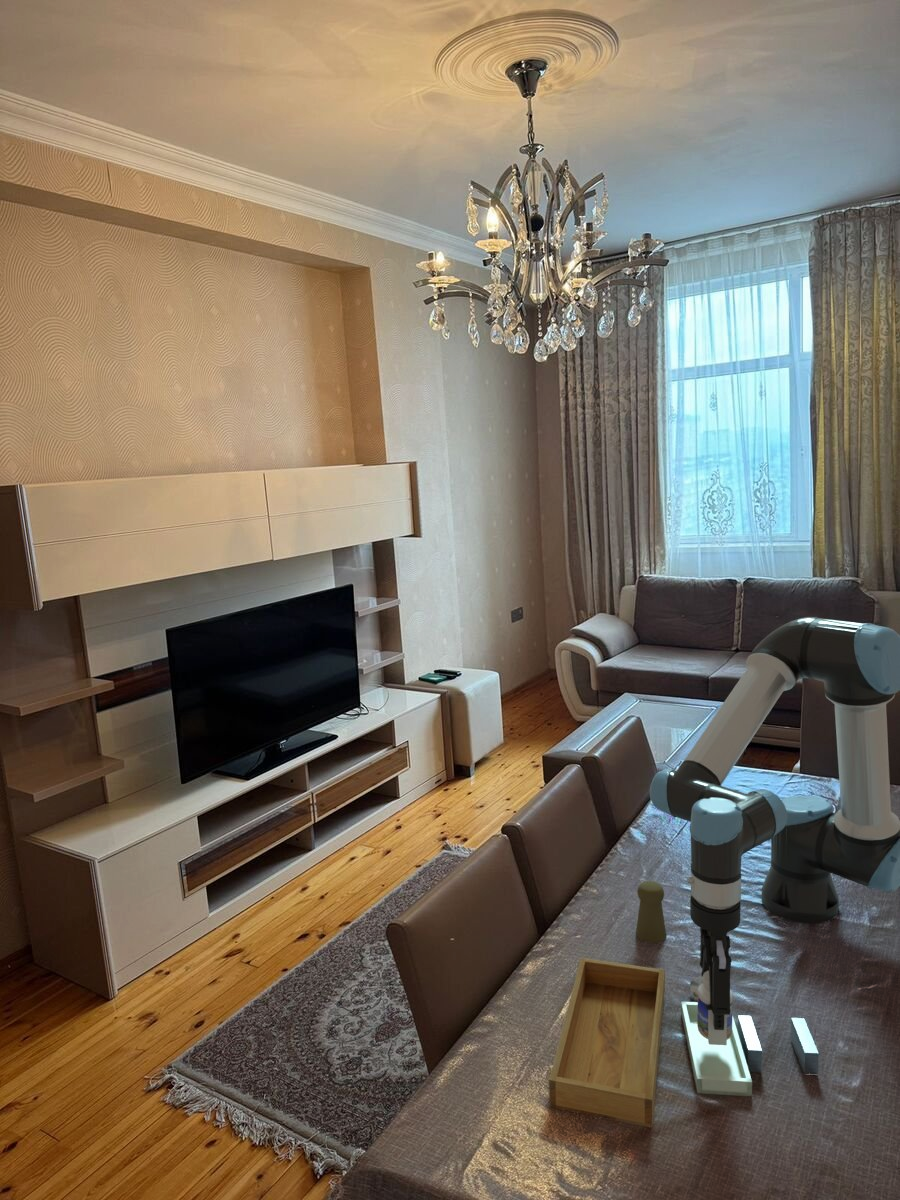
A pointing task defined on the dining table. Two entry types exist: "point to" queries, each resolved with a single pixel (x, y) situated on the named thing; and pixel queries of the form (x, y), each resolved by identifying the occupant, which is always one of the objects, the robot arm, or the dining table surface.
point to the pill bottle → (703, 1013)
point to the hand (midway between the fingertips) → (713, 1029)
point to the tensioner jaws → (799, 1039)
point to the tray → (610, 1043)
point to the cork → (650, 913)
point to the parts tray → (715, 1059)
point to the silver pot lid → (695, 988)
